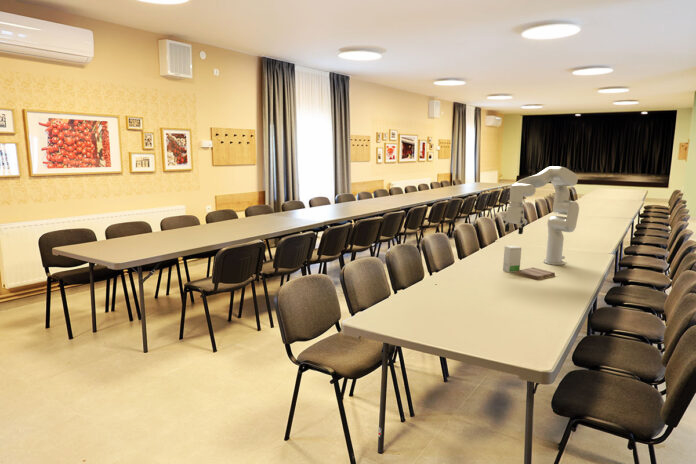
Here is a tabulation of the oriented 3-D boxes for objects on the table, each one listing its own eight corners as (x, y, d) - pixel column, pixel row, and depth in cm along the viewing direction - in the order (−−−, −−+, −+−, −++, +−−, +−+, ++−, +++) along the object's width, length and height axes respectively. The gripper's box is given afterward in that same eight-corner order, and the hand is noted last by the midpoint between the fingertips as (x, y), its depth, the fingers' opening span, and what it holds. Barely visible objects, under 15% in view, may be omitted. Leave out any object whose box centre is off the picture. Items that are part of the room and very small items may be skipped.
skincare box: (508, 272, 278) (510, 247, 276) (502, 270, 285) (503, 245, 282) (520, 272, 281) (522, 247, 278) (513, 269, 287) (515, 245, 284)
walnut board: (532, 270, 285) (532, 267, 284) (554, 275, 272) (555, 272, 272) (515, 274, 275) (515, 270, 275) (537, 279, 263) (537, 276, 263)
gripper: (532, 206, 270) (529, 234, 273) (507, 203, 285) (505, 230, 287) (524, 206, 266) (521, 235, 269) (499, 203, 281) (497, 231, 283)
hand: (513, 232), depth 278 cm, fingers open, 9 cm apart
